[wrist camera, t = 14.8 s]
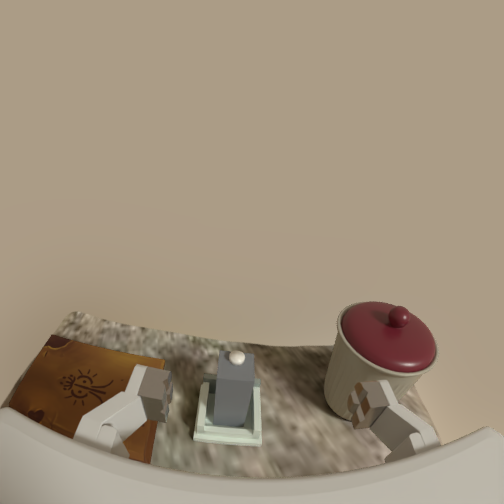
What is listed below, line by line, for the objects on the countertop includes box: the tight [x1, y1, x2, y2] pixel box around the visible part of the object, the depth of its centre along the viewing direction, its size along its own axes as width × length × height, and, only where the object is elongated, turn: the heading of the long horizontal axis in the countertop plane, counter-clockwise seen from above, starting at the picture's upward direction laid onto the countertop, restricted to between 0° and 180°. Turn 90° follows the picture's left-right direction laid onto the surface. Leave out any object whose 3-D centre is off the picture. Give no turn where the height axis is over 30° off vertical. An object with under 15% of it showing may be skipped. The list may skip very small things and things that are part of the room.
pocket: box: [193, 373, 262, 446], centre depth 37 cm, size 10×11×5 cm
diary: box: [9, 335, 165, 464], centre depth 33 cm, size 23×19×6 cm
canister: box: [324, 302, 439, 421], centre depth 39 cm, size 18×18×21 cm
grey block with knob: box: [213, 350, 255, 427], centre depth 35 cm, size 5×5×13 cm
